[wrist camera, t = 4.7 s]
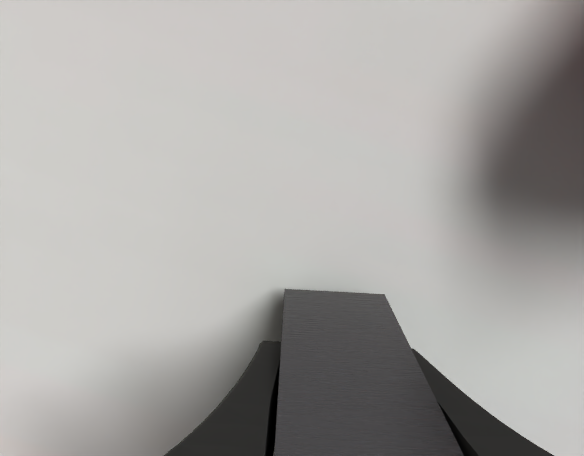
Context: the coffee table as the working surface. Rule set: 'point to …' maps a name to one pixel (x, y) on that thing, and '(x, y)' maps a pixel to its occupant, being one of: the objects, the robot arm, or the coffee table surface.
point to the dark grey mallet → (353, 382)
